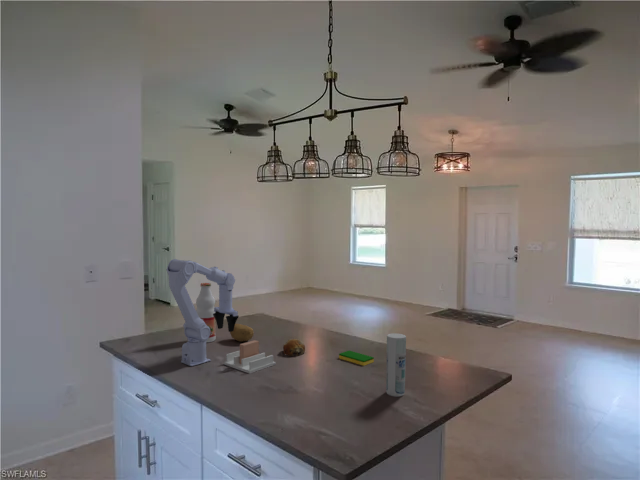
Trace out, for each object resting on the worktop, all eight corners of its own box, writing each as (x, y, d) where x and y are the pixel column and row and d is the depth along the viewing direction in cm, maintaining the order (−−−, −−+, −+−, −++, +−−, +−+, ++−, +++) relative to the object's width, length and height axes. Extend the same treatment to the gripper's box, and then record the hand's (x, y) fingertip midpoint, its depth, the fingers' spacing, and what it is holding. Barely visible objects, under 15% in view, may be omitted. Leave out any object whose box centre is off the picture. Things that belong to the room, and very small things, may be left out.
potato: (243, 346, 205) (243, 329, 205) (224, 340, 214) (224, 324, 214) (259, 341, 212) (259, 325, 212) (240, 336, 222) (240, 320, 221)
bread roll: (305, 359, 198) (306, 341, 202) (303, 355, 189) (304, 337, 192) (284, 358, 199) (285, 340, 202) (280, 355, 190) (282, 336, 193)
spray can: (391, 387, 156) (392, 332, 155) (408, 392, 152) (409, 335, 151) (382, 393, 151) (383, 335, 150) (399, 398, 147) (400, 339, 146)
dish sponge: (363, 366, 179) (363, 360, 179) (338, 359, 189) (338, 353, 189) (374, 362, 184) (374, 357, 184) (349, 355, 194) (349, 350, 194)
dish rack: (249, 373, 169) (249, 363, 169) (223, 364, 179) (223, 354, 179) (275, 364, 180) (275, 354, 179) (249, 356, 190) (250, 347, 190)
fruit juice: (219, 338, 217) (219, 282, 215) (208, 344, 208) (208, 285, 207) (203, 337, 220) (203, 281, 219) (191, 341, 211) (191, 284, 210)
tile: (243, 365, 175) (243, 345, 175) (239, 363, 177) (239, 344, 177) (258, 360, 181) (258, 341, 181) (254, 359, 183) (254, 340, 183)
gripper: (243, 300, 193) (243, 331, 194) (222, 296, 203) (222, 325, 203) (230, 302, 188) (230, 334, 188) (210, 298, 197) (210, 328, 198)
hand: (225, 329), depth 195 cm, fingers open, 7 cm apart
